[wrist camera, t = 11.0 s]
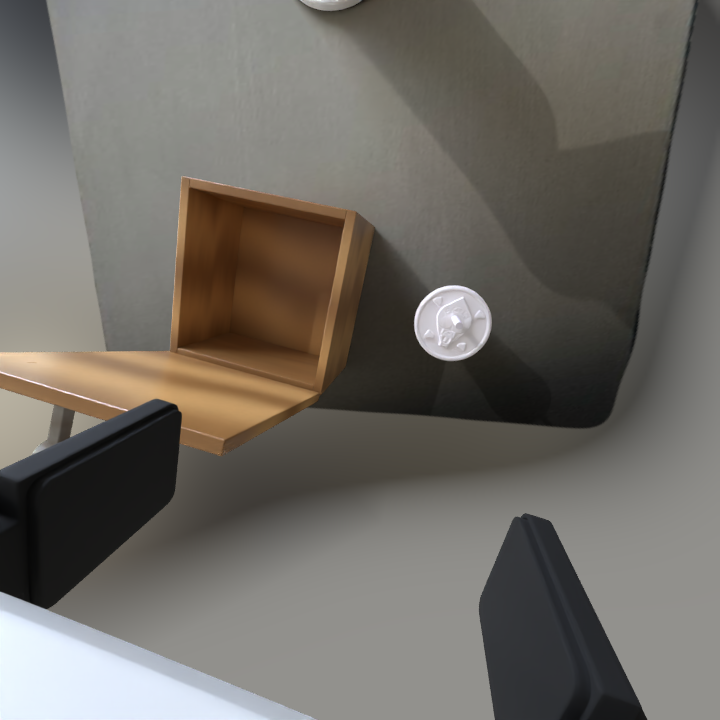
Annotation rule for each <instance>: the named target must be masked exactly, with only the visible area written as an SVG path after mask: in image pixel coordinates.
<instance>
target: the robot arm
mask: <svg viewBox="0 0 720 720" xmlns="http://www.w3.org/2000/svg"><path fill="white" fill-rule="evenodd" d="M300 1H301V2H303V3H304V4H306V5H307V6H310V7H312V8H315V9H318V10H325V11H335V10H343V9H345V8H348V7H351V6H354V5H356V4H357V3H359V2H361V1H362V0H300ZM181 423H182V413H181V412H180V411H179V409H178V406H177V405H176V404H173V403H170V402H167V401H164V400H160V399H153V400H150V401H148V402H146V403H144V404H142V405H140V406H137V407H135V408H133V409H131V410H129V411H127V412H124V413H122V414H120V415H118V416H116V417H114V418H111V419H109V420H107V421H105V422H103V423H101V424H98V425H96V426H94V427H92V428H90V429H88V430H85V431H83V432H81V433H79V434H77V435H75V436H73V437H70V438H68V439H66V440H64V441H62V442H59V443H57V444H55V445H53V446H51V447H49V448H46V449H44V450H42V451H40V452H38V453H36V454H33V455H31V456H29V457H27V458H25V459H23V460H21V461H18V462H16V463H14V464H12V465H10V466H8V467H5V468H3V469H1V470H0V720H317V719H315V718H313V717H310V716H308V715H305V714H303V713H301V712H298V711H296V710H293V709H290V708H288V707H286V706H283V705H281V704H279V703H276V702H274V701H271V700H269V699H266V698H264V697H261V696H259V695H256V694H254V693H252V692H249V691H247V690H244V689H242V688H239V687H237V686H234V685H232V684H229V683H227V682H225V681H222V680H220V679H217V678H215V677H212V676H210V675H208V674H205V673H203V672H200V671H198V670H195V669H193V668H190V667H188V666H185V665H183V664H181V663H178V662H175V661H173V660H171V659H168V658H166V657H163V656H161V655H158V654H156V653H153V652H151V651H148V650H146V649H143V648H141V647H139V646H136V645H134V644H131V643H129V642H126V641H123V640H121V639H119V638H116V637H114V636H111V635H109V634H106V633H104V632H101V631H98V630H96V629H94V628H91V627H89V626H86V625H84V624H81V623H79V622H76V621H74V620H71V619H69V618H66V617H64V616H61V615H58V614H56V613H54V612H51V611H48V610H46V609H48V608H50V607H51V606H53V605H54V604H56V603H57V602H58V601H59V600H60V599H61V598H62V597H64V595H66V594H67V593H68V592H69V591H70V590H71V589H72V588H74V587H75V586H76V585H77V584H78V583H79V582H80V581H82V580H83V579H84V578H85V577H86V576H87V575H88V574H89V573H90V572H92V571H93V570H94V569H95V568H96V567H97V566H98V565H99V564H101V563H102V562H103V561H104V560H105V559H106V558H107V557H109V556H110V555H111V554H112V553H113V552H114V551H115V550H116V549H118V548H119V547H120V546H121V545H122V544H123V543H124V542H125V541H127V540H128V539H129V538H130V537H131V536H132V535H133V534H134V533H136V532H137V531H138V530H139V529H140V528H141V527H142V526H143V525H144V524H146V523H147V522H148V521H149V520H150V519H151V518H152V517H154V516H155V515H156V514H157V513H158V512H159V511H160V510H161V509H163V508H164V507H165V506H166V505H167V504H168V503H169V502H170V500H171V499H172V497H173V495H174V492H175V484H176V474H177V464H178V454H179V444H180V434H181ZM479 615H480V622H481V629H482V635H483V642H484V649H485V655H486V662H487V669H488V676H489V683H490V689H491V696H492V702H493V709H494V716H495V720H647V718H646V716H645V714H644V712H643V710H642V707H641V705H640V703H639V700H638V698H637V696H636V695H635V692H634V690H633V688H632V686H631V684H630V682H629V680H628V678H627V676H626V674H625V672H624V670H623V668H622V666H621V664H620V662H619V660H618V658H617V656H616V654H615V652H614V650H613V648H612V646H611V644H610V641H609V639H608V637H607V636H606V633H605V631H604V629H603V627H602V625H601V623H600V621H599V619H598V617H597V615H596V613H595V611H594V609H593V607H592V605H591V603H590V601H589V598H588V597H587V594H586V592H585V590H584V588H583V586H582V584H581V582H580V580H579V578H578V576H577V574H576V572H575V570H574V568H573V566H572V564H571V562H570V560H569V558H568V556H567V554H566V552H565V550H564V547H563V545H562V543H561V541H560V540H559V537H558V535H557V533H556V531H555V529H554V527H553V525H552V523H551V522H550V521H549V520H546V519H543V518H539V517H536V516H533V515H530V514H526V513H525V514H523V515H522V516H521V518H520V517H515V518H514V519H513V521H512V523H511V526H510V528H509V531H508V533H507V535H506V538H505V540H504V542H503V545H502V547H501V549H500V552H499V554H498V556H497V559H496V561H495V564H494V566H493V568H492V571H491V573H490V576H489V578H488V580H487V583H486V585H485V587H484V590H483V592H482V595H481V597H480V602H479Z"/></svg>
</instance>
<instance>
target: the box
mask: <svg viewBox="0 0 720 720" xmlns="http://www.w3.org/2000/svg"><path fill="white" fill-rule="evenodd" d="M374 230H375V227H374V226H373V225H372V224H370V223H369V222H368V221H367V220H366V219H364V218H363V217H362V216H361V215H360V214H358V213H357V212H356V211H351V210H346V209H341V208H336V207H331V206H326V205H322V204H317V203H312V202H307V201H302V200H297V199H292V198H287V197H282V196H278V195H273V194H268V193H263V192H258V191H253V190H248V189H243V188H239V187H234V186H229V185H224V184H219V183H214V182H209V181H204V180H200V179H195V178H190V177H185V176H182V179H181V194H180V209H179V224H178V238H177V253H176V268H175V283H174V298H173V313H172V328H171V343H170V352H173V353H176V354H180V355H183V356H187V357H191V358H194V359H198V360H202V361H205V362H209V363H213V364H216V365H220V366H224V367H227V368H231V369H234V370H238V371H242V372H245V373H249V374H253V375H256V376H260V377H264V378H267V379H271V380H275V381H278V382H282V383H285V384H289V385H293V386H296V387H300V388H304V389H307V390H311V391H315V392H318V393H320V395H321V394H322V393H323V392H324V391H325V390H326V389H327V387H328V386H329V385H330V384H331V383H332V382H333V381H334V380H335V378H336V377H337V376H338V375H339V374H340V373H341V372H342V370H343V369H344V368H345V367H346V363H347V358H348V353H349V348H350V344H351V339H352V334H353V329H354V325H355V320H356V315H357V310H358V306H359V301H360V296H361V291H362V287H363V282H364V277H365V272H366V268H367V263H368V258H369V253H370V249H371V244H372V239H373V234H374Z"/></svg>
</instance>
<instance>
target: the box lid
mask: <svg viewBox="0 0 720 720" xmlns="http://www.w3.org/2000/svg"><path fill="white" fill-rule="evenodd" d="M0 388H2V389H5V390H8V391H12V392H15V393H18V394H21V395H25V396H28V397H31V398H34V399H37V400H41V401H44V402H48V403H50V404H54V408H53V413H52V419H51V424H50V429H49V434H48V439H47V440H46V441H44V442H42V443H41V444H40V445H39V446H38V447H37V448H36V449H35V450H34V452H33V454H36V453H38V452H40V451H42V450H44V449H46V448H49V447H51V446H53V445H55V444H57V443H59V442H62V441H64V440H66V439H68V438H70V434H71V428H72V424H73V419H74V413H75V411H76V412H80V413H83V414H86V415H89V416H93V417H96V418H99V419H102V420H105V421H107V420H109V419H111V418H114V417H116V416H118V415H120V414H122V413H124V412H127V411H129V410H131V409H133V408H135V407H137V406H140V405H142V404H144V403H146V402H148V401H150V400H153V399H160V400H164V401H167V402H170V403H173V404H176V405H177V406H178V409H179V411H180V412H181V413H182V423H181V434H180V444H183V445H187V446H190V447H193V448H196V449H199V450H202V451H206V452H209V453H212V454H216V455H219V456H223V455H225V454H226V453H228V452H230V451H232V450H234V449H235V448H237V447H239V446H240V445H242V444H244V443H246V442H247V441H249V440H251V439H252V438H254V437H256V436H258V435H260V434H261V433H263V432H265V431H267V430H268V429H270V428H271V427H274V426H275V425H277V424H279V423H280V422H282V421H284V420H286V419H288V418H289V417H291V416H293V415H294V414H296V413H298V412H300V411H301V410H303V409H305V408H307V407H308V406H310V405H312V404H314V403H315V402H317V401H318V400H319V395H320V393H318V392H315V391H311V390H307V389H304V388H300V387H296V386H293V385H289V384H285V383H282V382H278V381H275V380H271V379H267V378H264V377H260V376H256V375H253V374H249V373H245V372H242V371H238V370H234V369H231V368H227V367H224V366H220V365H216V364H213V363H209V362H205V361H202V360H198V359H194V358H191V357H187V356H183V355H180V354H176V353H173V352H169V351H119V352H25V353H24V352H17V353H16V352H15V353H14V352H13V353H0ZM33 454H32V455H33Z"/></svg>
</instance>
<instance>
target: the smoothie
mask: <svg viewBox="0 0 720 720" xmlns="http://www.w3.org/2000/svg"><path fill="white" fill-rule="evenodd" d="M491 325H492V319H491V314H490V310H489V308H488V306H487V304H486V302H485V301H484V300H483V298H481V297H480V296H479V295H478V294H477V293H476V292H474V291H473V290H471V289H469V288H467V287H462V286H457V285H456V286H445V287H442V288H439V289H436V290H435V291H433V292H431V293H430V294H428V295H427V296H426V297H425V298H424V299H423V301H422V302H421V303H420V305H419V307H418V309H417V311H416V315H415V319H414V330H415V333H416V337H417V339H418V341H419V343H420V345H421V346H422V347H423V348H424V350H425V351H427V352H428V353H429V354H430V355H432V356H434V357H436V358H438V359H441V360H446V361H457V360H462V359H465V358H468V357H470V356H472V355H474V354H475V353H476V352H478V351H479V350H480V349H481V348H482V347H483V346H484V344H485V343H486V341H487V339H488V337H489V335H490V331H491Z"/></svg>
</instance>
